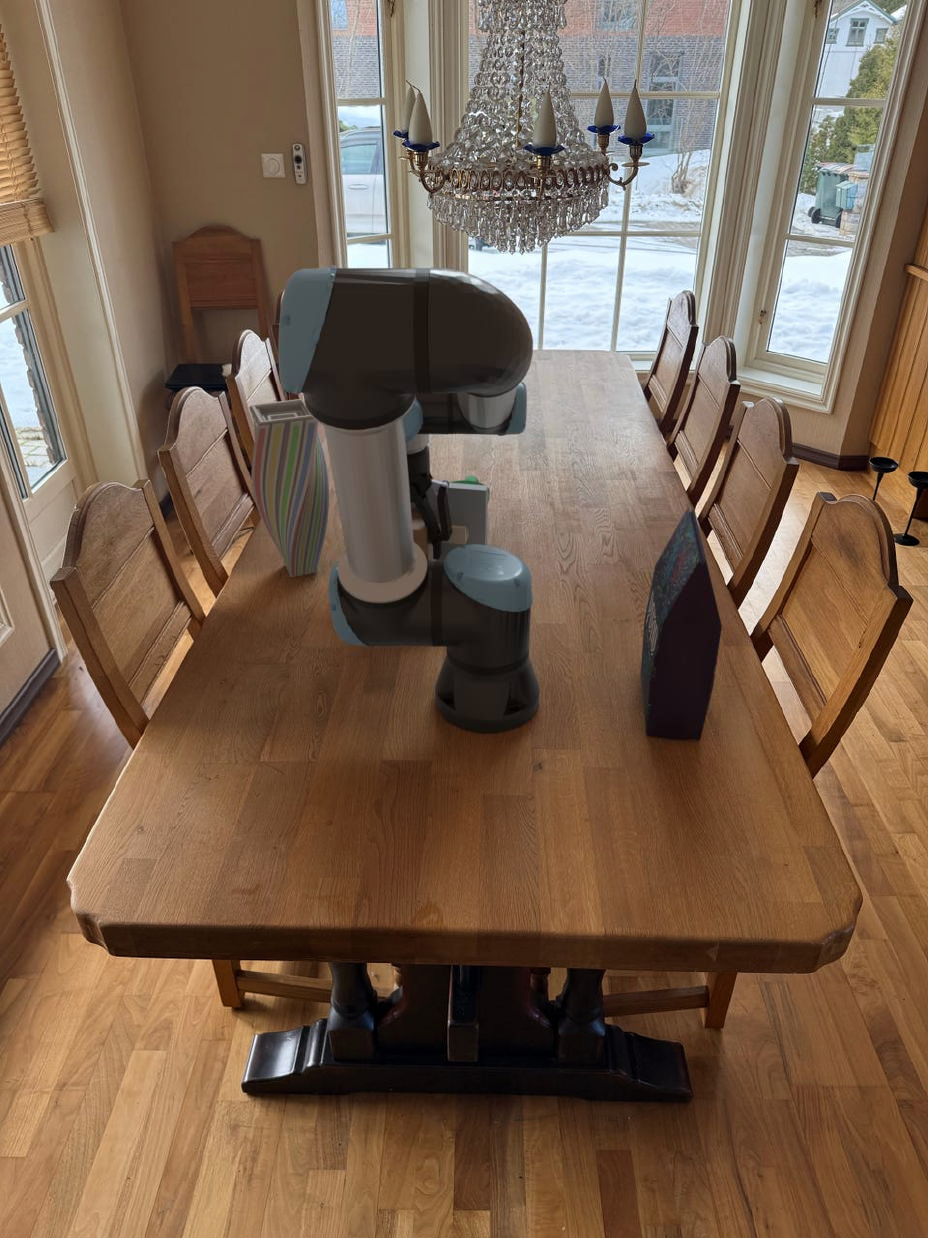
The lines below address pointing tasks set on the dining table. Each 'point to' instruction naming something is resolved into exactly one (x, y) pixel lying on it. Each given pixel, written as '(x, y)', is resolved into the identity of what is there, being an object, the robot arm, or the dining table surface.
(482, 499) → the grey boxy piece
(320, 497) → the vase
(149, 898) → the dining table surface
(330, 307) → the robot arm
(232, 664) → the dining table surface
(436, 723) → the dining table surface
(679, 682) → the decorative box
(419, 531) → the brown block
